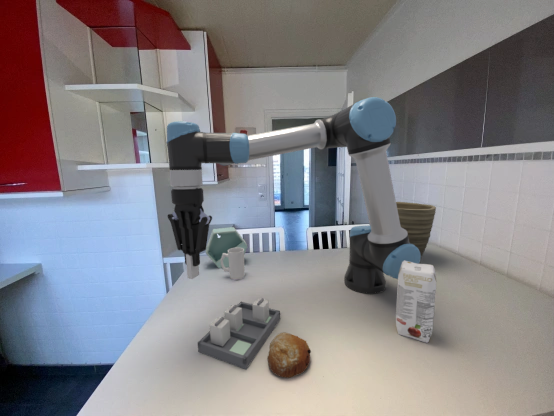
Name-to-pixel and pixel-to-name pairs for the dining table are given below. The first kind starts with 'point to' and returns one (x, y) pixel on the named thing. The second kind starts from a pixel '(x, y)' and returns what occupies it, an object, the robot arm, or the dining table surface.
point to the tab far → (260, 310)
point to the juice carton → (416, 300)
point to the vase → (416, 222)
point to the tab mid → (234, 317)
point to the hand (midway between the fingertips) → (193, 276)
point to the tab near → (220, 331)
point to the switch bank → (242, 338)
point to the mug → (235, 263)
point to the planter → (223, 244)
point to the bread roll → (288, 355)
